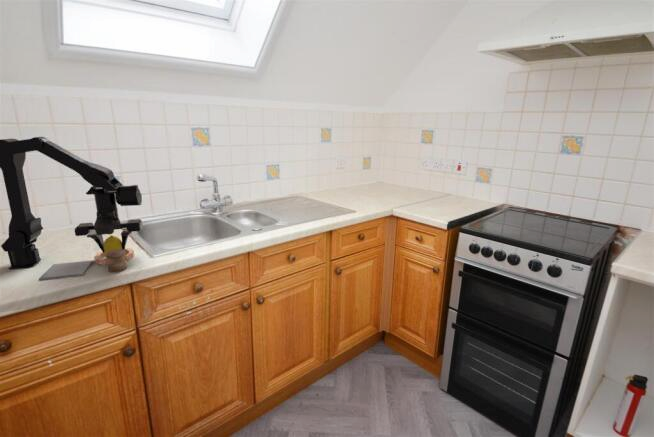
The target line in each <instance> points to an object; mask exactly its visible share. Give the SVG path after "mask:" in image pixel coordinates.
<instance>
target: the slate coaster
mask: <svg viewBox="0 0 654 437" xmlns="http://www.w3.org/2000/svg"><path fill="white" fill-rule="evenodd" d="M93 263H94V260H93V259H92V260H91V259H90V260H83V261H82V260H81V261H70V262H62V263H61V262H60V263H53V264H52V265H51V266H50V267H49V268H48V269H47V270H46V271H45V272H44V273H42V275H41V276H40V277H39V278H38V280H39V281H45V280H53V279H54V280H55V279H64V278H71V277H80V276H85V273H86V272H87V271H88V269H89V268H90V267H91V266H92V264H93Z"/></svg>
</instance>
